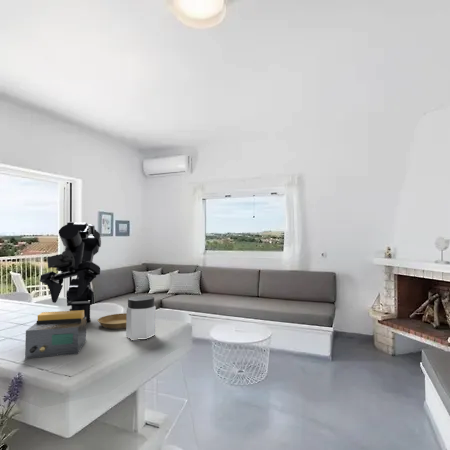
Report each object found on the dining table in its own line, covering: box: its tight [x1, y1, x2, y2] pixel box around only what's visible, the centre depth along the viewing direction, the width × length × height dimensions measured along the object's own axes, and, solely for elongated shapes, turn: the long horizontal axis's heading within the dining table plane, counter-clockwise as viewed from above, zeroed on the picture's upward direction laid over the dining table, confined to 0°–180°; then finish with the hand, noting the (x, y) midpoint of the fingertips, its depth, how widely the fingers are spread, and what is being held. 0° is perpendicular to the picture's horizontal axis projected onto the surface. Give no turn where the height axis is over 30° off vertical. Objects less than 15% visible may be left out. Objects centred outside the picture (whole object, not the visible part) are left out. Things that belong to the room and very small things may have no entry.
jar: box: [125, 295, 157, 340], centre depth 99 cm, size 9×8×12 cm
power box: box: [24, 314, 87, 359], centre depth 88 cm, size 13×12×8 cm
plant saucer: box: [97, 312, 127, 330], centre depth 113 cm, size 15×15×3 cm
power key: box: [37, 310, 84, 321], centre depth 91 cm, size 4×11×2 cm, turn 104°
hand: (66, 299), depth 98 cm, fingers open, 9 cm apart
